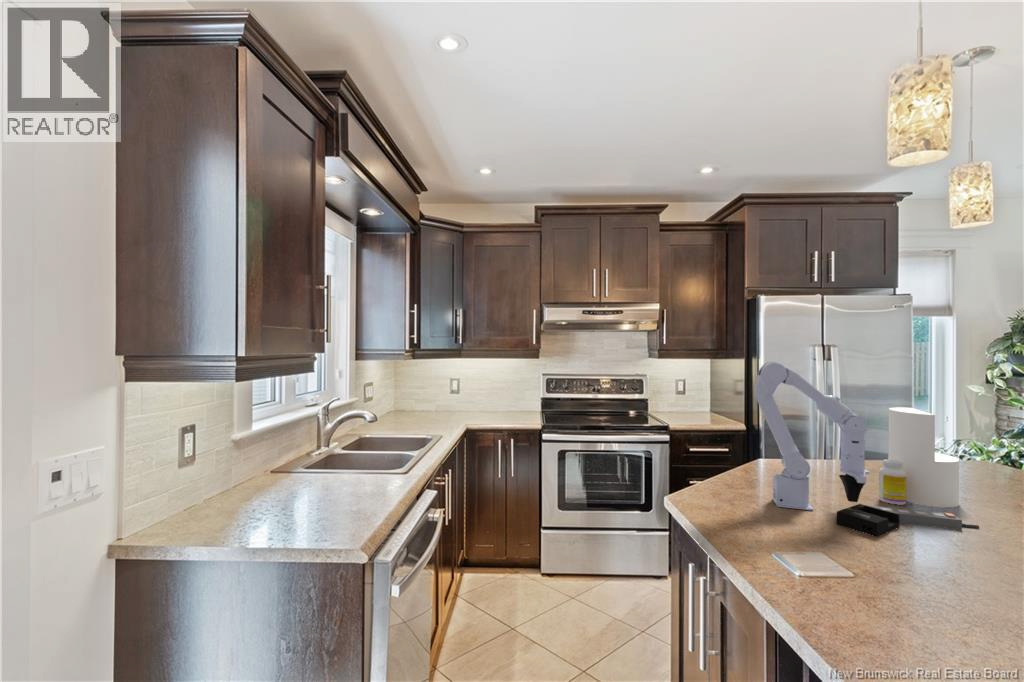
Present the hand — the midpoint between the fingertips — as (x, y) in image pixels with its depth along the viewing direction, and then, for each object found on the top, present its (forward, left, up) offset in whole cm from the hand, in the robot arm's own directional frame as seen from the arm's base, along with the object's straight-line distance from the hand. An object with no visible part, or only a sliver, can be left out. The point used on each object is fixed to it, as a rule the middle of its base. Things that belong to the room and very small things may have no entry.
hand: (852, 501), depth 139 cm
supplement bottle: (+15, +15, -4) cm, 22 cm away
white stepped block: (+26, +23, -4) cm, 35 cm away
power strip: (+16, -2, -3) cm, 16 cm away
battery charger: (0, -11, -4) cm, 11 cm away
